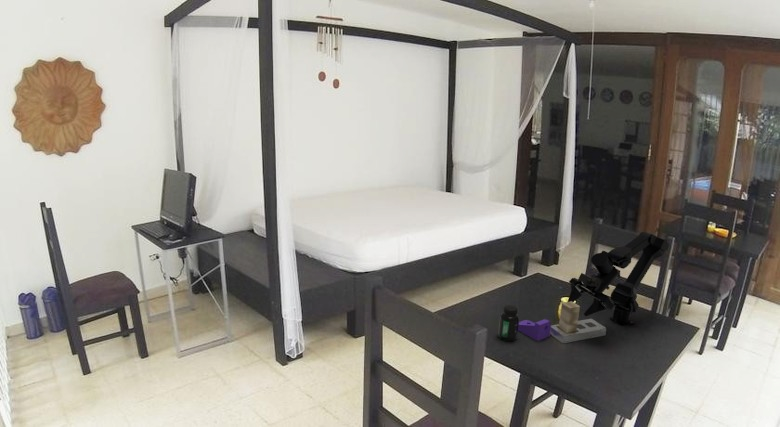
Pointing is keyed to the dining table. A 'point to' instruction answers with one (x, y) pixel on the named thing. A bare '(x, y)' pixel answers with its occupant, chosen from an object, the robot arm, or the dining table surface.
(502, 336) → the supplement bottle
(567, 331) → the peg
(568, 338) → the grey flat block
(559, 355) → the dining table surface
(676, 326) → the dining table surface
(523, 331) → the bracket
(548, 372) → the dining table surface
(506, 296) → the dining table surface
